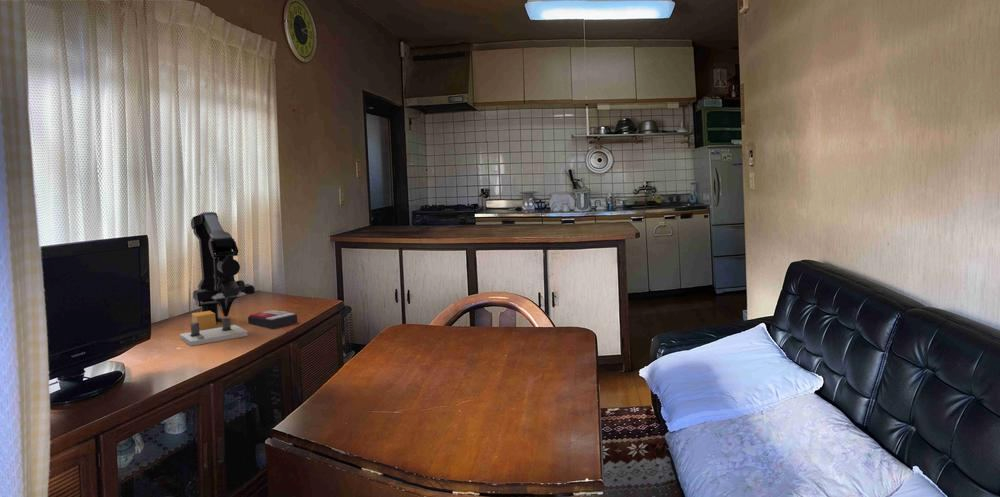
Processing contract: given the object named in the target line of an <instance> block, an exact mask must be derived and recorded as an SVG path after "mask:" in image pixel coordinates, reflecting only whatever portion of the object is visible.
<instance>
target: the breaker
mask: <svg viewBox="0 0 1000 497" xmlns="http://www.w3.org/2000/svg"><path fill="white" fill-rule="evenodd" d="M190 332H191V336H198V335H200V328H199V323H192V322H191V323H190Z"/></svg>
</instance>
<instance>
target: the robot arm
mask: <svg viewBox="0 0 1000 497" xmlns="http://www.w3.org/2000/svg"><path fill="white" fill-rule="evenodd" d="M190 226H191V229H192V230H193V234H194V236H195V237H196V238H197V239H198V244H199V246H198V247H199V255H200V256H199V257H200V269H201V280H200V281H199V283H198V285H197V290H194V291H193V292H192V298H193V300H195V305H196V306H197V307H199V308H200V307H201V308H200V310H201V311H200V312H204V311H211V312H213V313H215V317H216V322H218V321H222V318H223V317H219V315H220V314H219V308H220V310H221V313H222V314H223V316H224V318H228V316H229V313H230V310H231V307H232V304H233V303H234V300H236V299H238V298H239V295H240V293H243V294H245V295H252V294H255V293H256V288H255V286H254V285H252V284H251V283H250V284H249V283H245V281H244V280H243V279H241V280H237V281H236V280H235V275H238V273H239V272H240V271H241V270H240V269H241V265H240V263H239V262H238V261H237V260H236V259H234V257H238V256H239V254H238V253H239V248H238V244H237V241H236V240H235V239H234V238H233V237H232V235H231V234H230V233H229V232H227V231H225V230H224V229H223V227H222V224H221V223H220V221H219V217H218V213H217V212H215V211H208V212H207V211H206V212H205V211H204V212H202V213H200V214H198V215H194V216H192V217H191V220H190Z"/></svg>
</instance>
